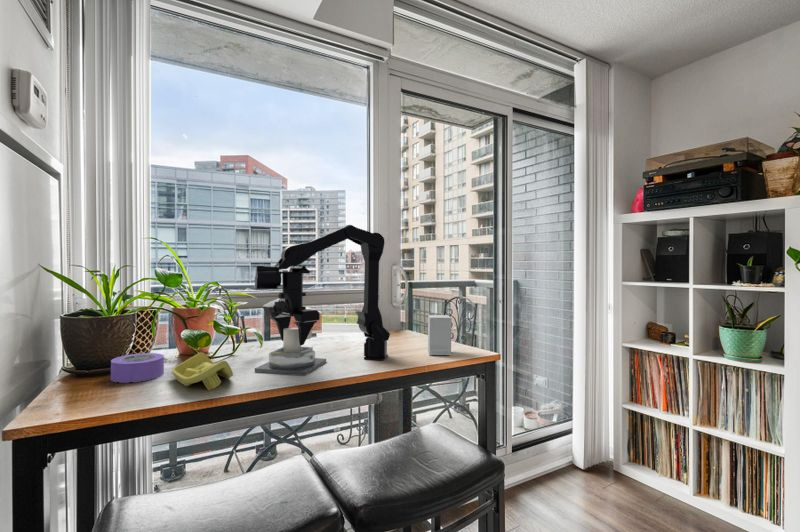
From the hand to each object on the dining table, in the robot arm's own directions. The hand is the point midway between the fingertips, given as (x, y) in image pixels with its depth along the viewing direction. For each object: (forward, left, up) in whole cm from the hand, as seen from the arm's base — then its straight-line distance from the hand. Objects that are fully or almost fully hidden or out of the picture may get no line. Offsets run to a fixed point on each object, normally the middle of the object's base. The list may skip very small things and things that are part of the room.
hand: (292, 342), depth 118 cm
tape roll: (+35, +18, -7) cm, 40 cm away
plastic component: (+15, +19, -8) cm, 26 cm away
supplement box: (-40, -27, -7) cm, 49 cm away
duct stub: (0, 0, -7) cm, 7 cm away
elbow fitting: (-1, -1, -3) cm, 3 cm away
